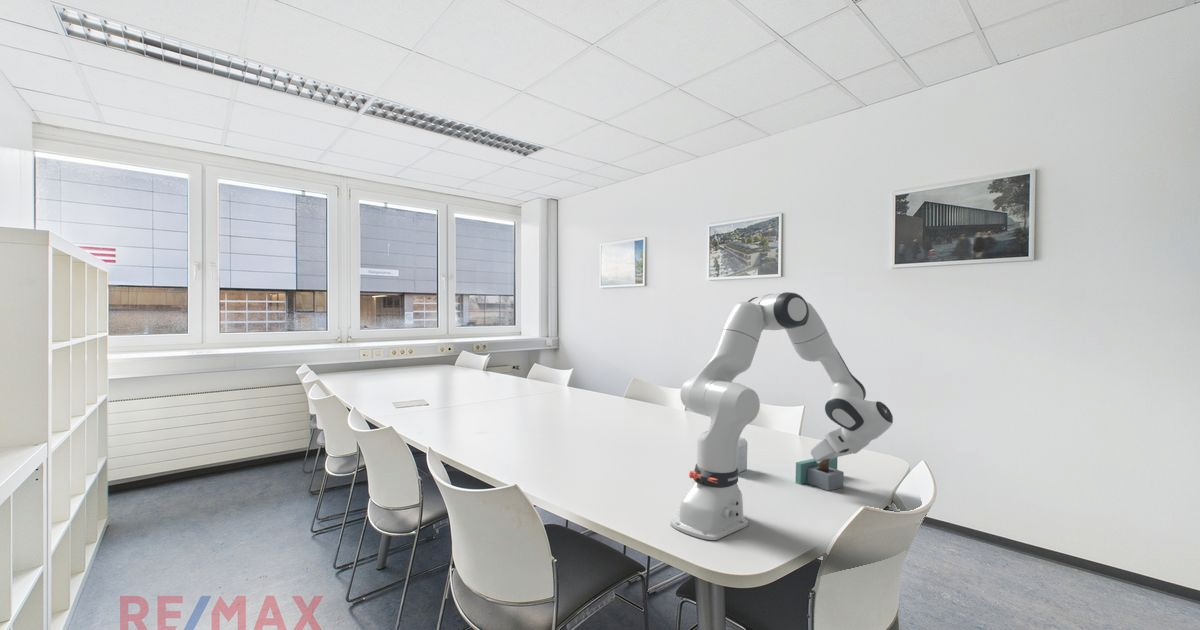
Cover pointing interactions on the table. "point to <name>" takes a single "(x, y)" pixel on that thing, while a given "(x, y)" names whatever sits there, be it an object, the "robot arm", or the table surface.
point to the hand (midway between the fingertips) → (821, 460)
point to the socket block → (825, 478)
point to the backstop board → (803, 465)
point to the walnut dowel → (824, 466)
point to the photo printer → (742, 455)
